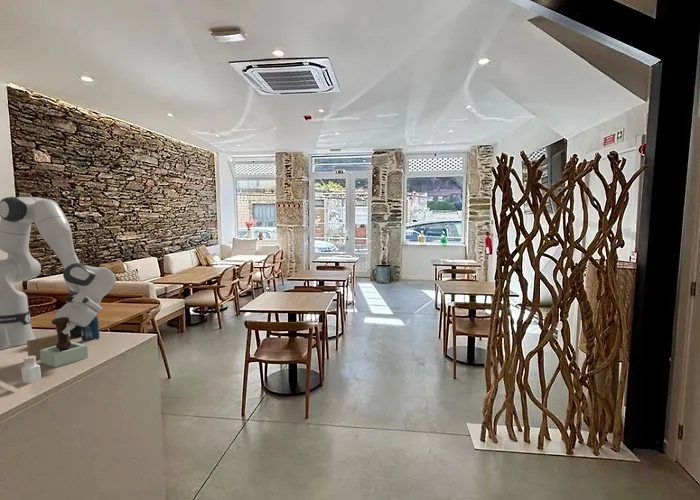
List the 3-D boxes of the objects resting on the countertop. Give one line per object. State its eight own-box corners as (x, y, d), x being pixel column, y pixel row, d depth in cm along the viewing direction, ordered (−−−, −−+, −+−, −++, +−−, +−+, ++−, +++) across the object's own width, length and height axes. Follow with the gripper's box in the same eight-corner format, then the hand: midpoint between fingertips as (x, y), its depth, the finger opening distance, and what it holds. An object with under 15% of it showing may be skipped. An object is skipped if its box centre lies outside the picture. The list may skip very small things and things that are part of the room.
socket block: (88, 357, 161) (87, 345, 161) (55, 367, 151) (54, 354, 151) (73, 353, 167) (72, 341, 167) (40, 362, 157) (39, 349, 157)
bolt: (63, 358, 156) (59, 321, 154) (52, 358, 157) (48, 320, 155) (76, 353, 162) (72, 316, 160) (65, 352, 163) (61, 316, 161)
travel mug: (74, 338, 191) (70, 297, 189) (66, 336, 195) (62, 295, 193) (91, 334, 197) (88, 294, 195) (83, 332, 201) (80, 292, 199)
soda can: (95, 337, 192) (93, 312, 191) (102, 339, 188) (100, 314, 187) (79, 341, 187) (77, 316, 185) (85, 344, 183) (83, 318, 181)
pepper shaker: (34, 380, 142) (31, 354, 141) (42, 382, 141) (39, 355, 140) (22, 385, 138) (19, 358, 137) (30, 386, 137) (27, 359, 136)
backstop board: (93, 359, 162) (91, 337, 161) (53, 372, 150) (51, 348, 149) (66, 351, 172) (64, 331, 172) (27, 362, 160) (25, 340, 159)
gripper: (65, 296, 168) (40, 325, 161) (92, 300, 158) (66, 331, 150) (78, 304, 172) (54, 333, 165) (104, 309, 162) (80, 340, 155)
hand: (60, 332), depth 158 cm, fingers closed on bolt, 3 cm apart
